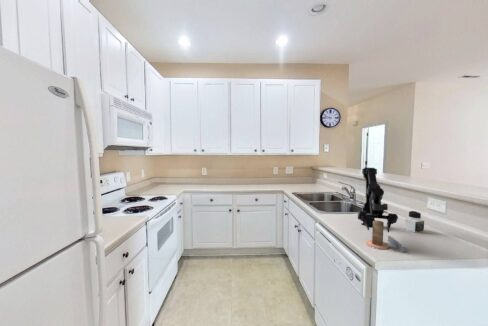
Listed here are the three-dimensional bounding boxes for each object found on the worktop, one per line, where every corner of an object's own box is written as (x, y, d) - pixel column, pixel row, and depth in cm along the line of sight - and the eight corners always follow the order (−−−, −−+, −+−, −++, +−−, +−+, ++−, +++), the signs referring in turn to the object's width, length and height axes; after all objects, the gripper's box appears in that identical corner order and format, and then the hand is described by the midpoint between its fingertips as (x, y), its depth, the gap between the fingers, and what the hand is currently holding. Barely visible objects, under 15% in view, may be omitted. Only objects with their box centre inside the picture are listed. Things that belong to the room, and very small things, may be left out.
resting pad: (364, 239, 131) (364, 238, 131) (386, 242, 127) (386, 241, 127) (367, 247, 121) (367, 246, 121) (391, 250, 117) (391, 249, 117)
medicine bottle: (415, 232, 142) (416, 213, 141) (404, 228, 148) (405, 210, 148) (423, 231, 143) (424, 212, 143) (412, 227, 150) (413, 209, 149)
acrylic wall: (387, 241, 129) (387, 235, 129) (389, 241, 129) (390, 235, 129) (402, 252, 115) (402, 246, 115) (404, 252, 115) (404, 246, 115)
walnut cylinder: (370, 241, 127) (371, 220, 126) (380, 242, 126) (381, 220, 126) (374, 245, 122) (375, 223, 121) (384, 245, 122) (385, 223, 121)
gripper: (358, 196, 130) (360, 221, 120) (397, 199, 123) (402, 226, 113) (357, 206, 137) (358, 231, 128) (393, 209, 131) (397, 235, 121)
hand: (378, 230), depth 122 cm, fingers open, 9 cm apart
